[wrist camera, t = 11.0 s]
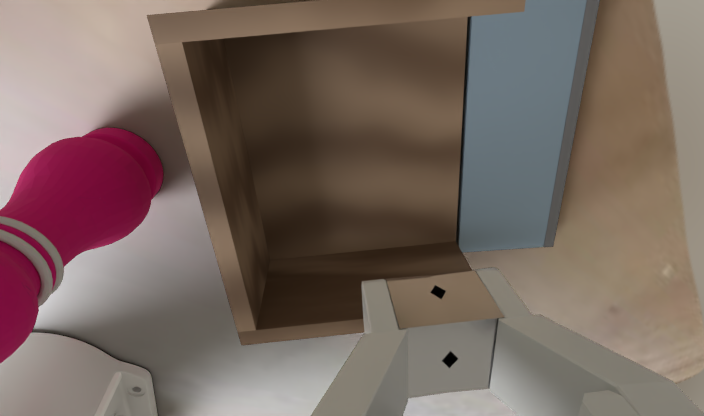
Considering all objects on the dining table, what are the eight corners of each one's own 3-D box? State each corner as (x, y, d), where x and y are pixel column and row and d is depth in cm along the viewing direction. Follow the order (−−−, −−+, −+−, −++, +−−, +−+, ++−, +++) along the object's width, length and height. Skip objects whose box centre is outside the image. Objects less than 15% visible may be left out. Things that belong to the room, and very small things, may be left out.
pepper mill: (186, 197, 32) (13, 444, 14) (101, 218, 32) (-172, 485, 14) (143, 109, 28) (-155, 288, 11) (49, 133, 29) (-391, 346, 11)
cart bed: (450, 243, 35) (490, 318, 27) (260, 262, 35) (241, 345, 27) (461, -12, 26) (527, -19, 18) (204, 10, 26) (146, 15, 17)
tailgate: (455, 244, 35) (546, 238, 35) (458, 252, 34) (553, 246, 34) (468, -13, 26) (592, -24, 26) (474, -13, 25) (604, -25, 24)
